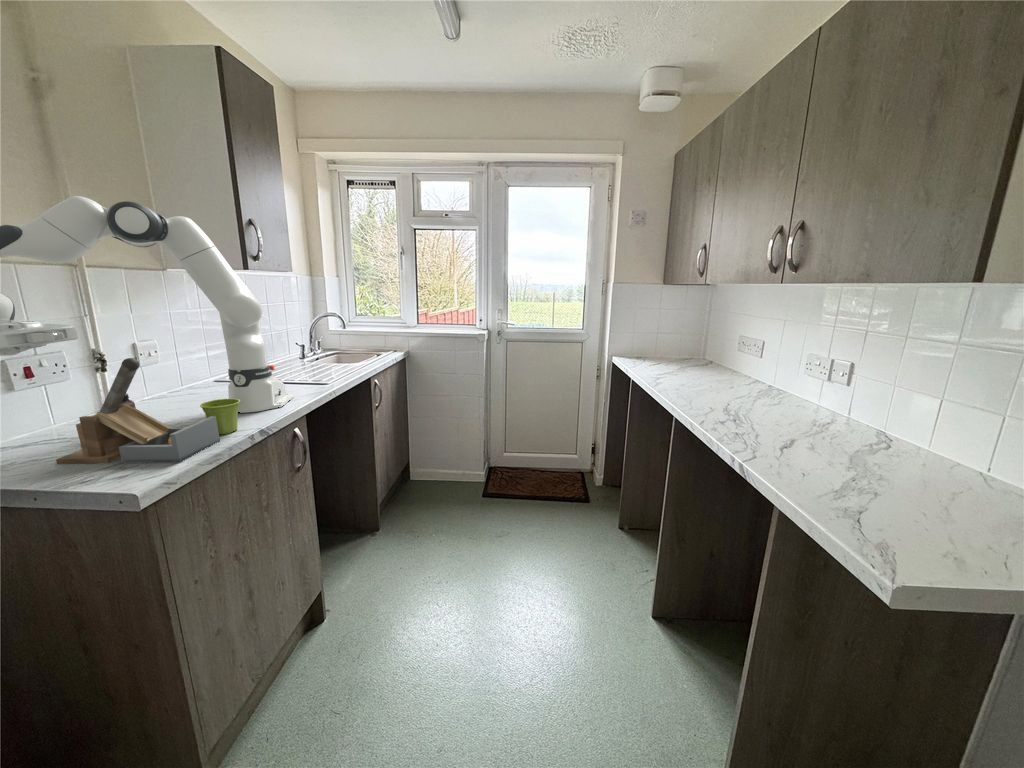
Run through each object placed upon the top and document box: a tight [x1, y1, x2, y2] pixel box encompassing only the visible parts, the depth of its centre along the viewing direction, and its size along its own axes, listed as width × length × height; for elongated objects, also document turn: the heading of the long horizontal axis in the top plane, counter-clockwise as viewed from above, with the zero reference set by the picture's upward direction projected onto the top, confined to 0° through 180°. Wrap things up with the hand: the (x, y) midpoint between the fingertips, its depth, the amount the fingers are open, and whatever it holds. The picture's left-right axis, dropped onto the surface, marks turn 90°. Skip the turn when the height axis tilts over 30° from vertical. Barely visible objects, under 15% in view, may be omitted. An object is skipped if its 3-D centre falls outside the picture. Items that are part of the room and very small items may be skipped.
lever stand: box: [55, 404, 136, 465], centre depth 103 cm, size 14×12×11 cm
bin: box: [119, 416, 221, 464], centre depth 104 cm, size 14×14×7 cm
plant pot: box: [199, 398, 240, 435], centre depth 118 cm, size 9×9×9 cm
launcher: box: [93, 357, 172, 445], centre depth 102 cm, size 9×14×17 cm
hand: (58, 336), depth 101 cm, fingers closed
